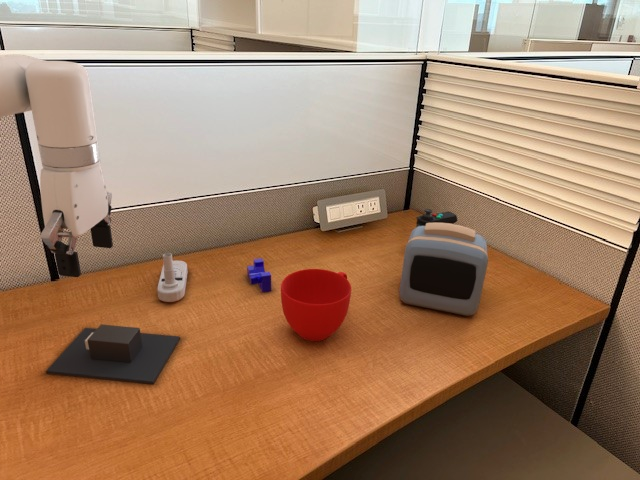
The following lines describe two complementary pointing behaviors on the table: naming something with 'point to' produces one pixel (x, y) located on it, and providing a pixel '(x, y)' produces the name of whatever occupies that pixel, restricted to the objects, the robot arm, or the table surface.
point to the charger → (114, 343)
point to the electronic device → (172, 279)
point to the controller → (436, 218)
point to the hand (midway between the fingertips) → (87, 260)
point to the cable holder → (259, 275)
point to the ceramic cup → (315, 302)
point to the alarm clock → (444, 268)
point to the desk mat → (138, 371)
